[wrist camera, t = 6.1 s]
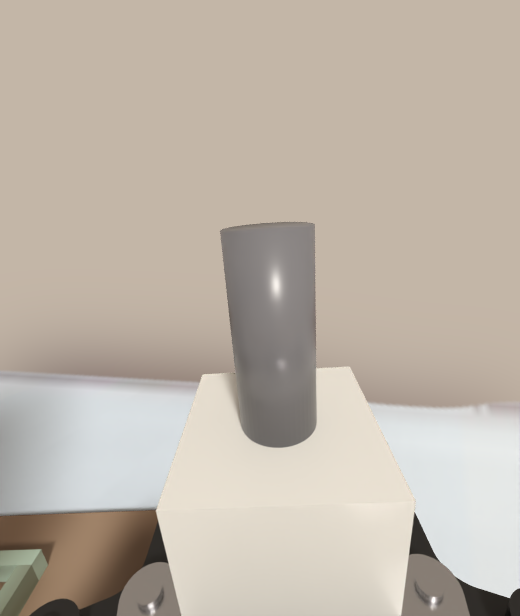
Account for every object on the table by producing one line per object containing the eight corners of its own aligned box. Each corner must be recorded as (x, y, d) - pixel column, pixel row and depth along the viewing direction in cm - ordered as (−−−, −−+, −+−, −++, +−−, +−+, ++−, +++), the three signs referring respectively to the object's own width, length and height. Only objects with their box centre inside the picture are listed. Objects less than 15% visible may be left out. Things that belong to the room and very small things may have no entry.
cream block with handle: (224, 788, 8) (92, 256, 4) (238, 585, 13) (186, 222, 8) (378, 788, 8) (450, 232, 4) (339, 582, 13) (347, 211, 8)
